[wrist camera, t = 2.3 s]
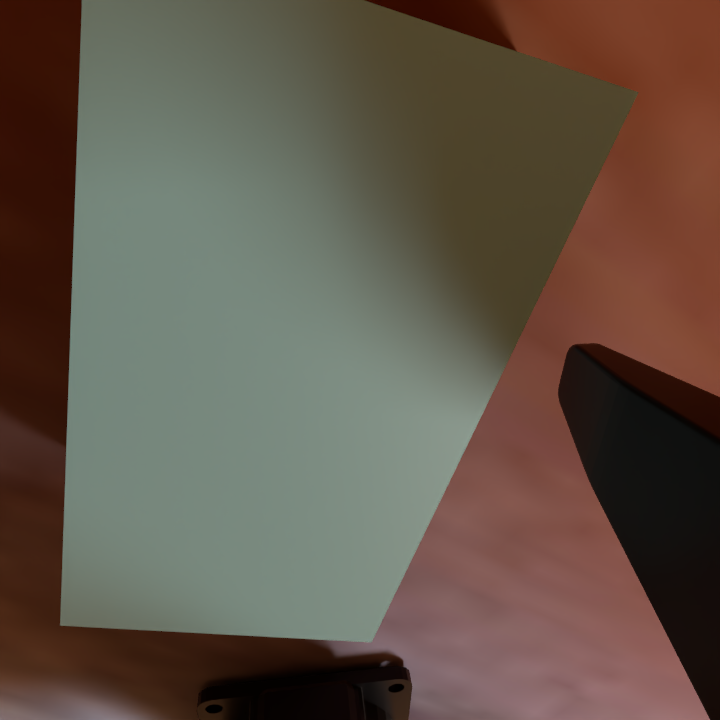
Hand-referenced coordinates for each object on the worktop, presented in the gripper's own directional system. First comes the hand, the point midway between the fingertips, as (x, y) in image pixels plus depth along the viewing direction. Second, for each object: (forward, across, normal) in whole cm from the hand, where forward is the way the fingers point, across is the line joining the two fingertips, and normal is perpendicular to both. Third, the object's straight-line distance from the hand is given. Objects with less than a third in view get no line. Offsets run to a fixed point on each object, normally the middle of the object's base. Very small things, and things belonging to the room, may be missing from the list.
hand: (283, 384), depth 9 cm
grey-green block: (+3, 0, 0) cm, 3 cm away
